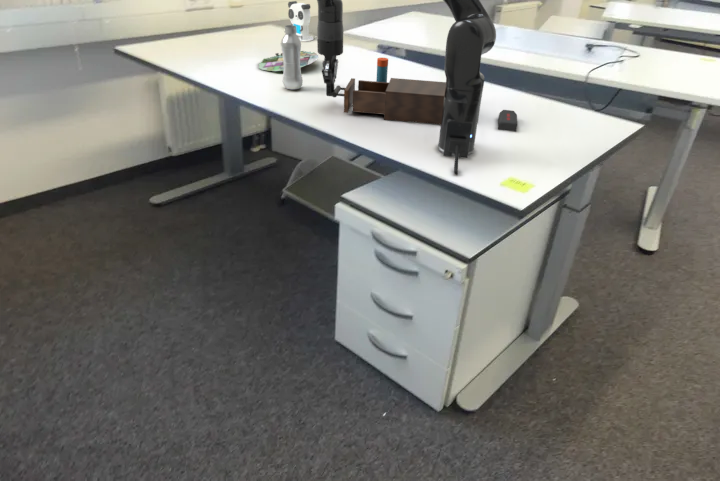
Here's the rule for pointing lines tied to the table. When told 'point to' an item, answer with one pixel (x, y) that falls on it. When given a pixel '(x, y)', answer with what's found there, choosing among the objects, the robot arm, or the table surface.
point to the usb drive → (507, 120)
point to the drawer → (363, 96)
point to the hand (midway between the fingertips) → (330, 95)
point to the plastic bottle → (291, 58)
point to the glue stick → (382, 69)
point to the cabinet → (414, 101)
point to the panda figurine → (300, 19)
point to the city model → (277, 61)
